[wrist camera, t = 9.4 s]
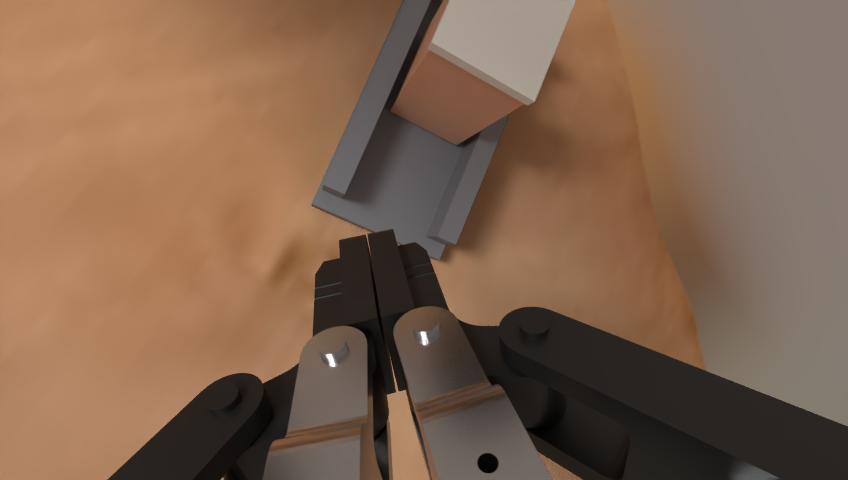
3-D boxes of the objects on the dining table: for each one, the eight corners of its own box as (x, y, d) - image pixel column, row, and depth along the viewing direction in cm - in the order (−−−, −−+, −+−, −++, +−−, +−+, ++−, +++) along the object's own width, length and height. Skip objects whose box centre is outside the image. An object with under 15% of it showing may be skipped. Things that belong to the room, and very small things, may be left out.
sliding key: (457, 147, 27) (535, 101, 18) (387, 111, 26) (431, 42, 17) (488, 74, 28) (579, -9, 18) (421, 35, 26) (482, -74, 17)
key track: (432, 258, 28) (461, 264, 23) (311, 205, 26) (312, 198, 21) (521, 45, 30) (567, 4, 25) (413, -21, 28) (437, -81, 23)
